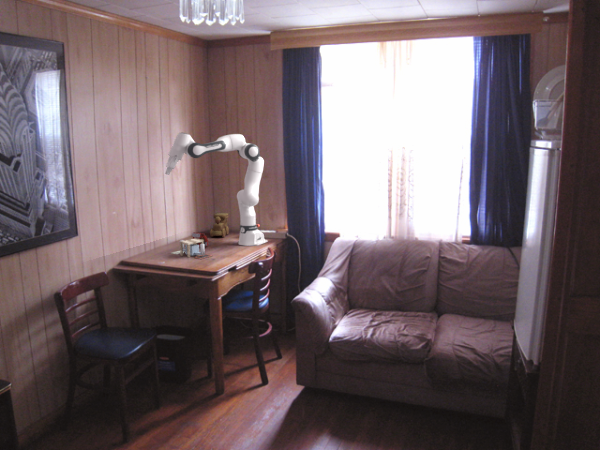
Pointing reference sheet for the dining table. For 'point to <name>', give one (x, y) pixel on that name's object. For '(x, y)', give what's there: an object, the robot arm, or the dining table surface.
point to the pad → (176, 252)
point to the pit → (203, 256)
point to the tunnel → (188, 245)
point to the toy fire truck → (199, 236)
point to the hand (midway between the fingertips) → (167, 174)
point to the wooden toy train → (220, 225)
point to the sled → (194, 249)
